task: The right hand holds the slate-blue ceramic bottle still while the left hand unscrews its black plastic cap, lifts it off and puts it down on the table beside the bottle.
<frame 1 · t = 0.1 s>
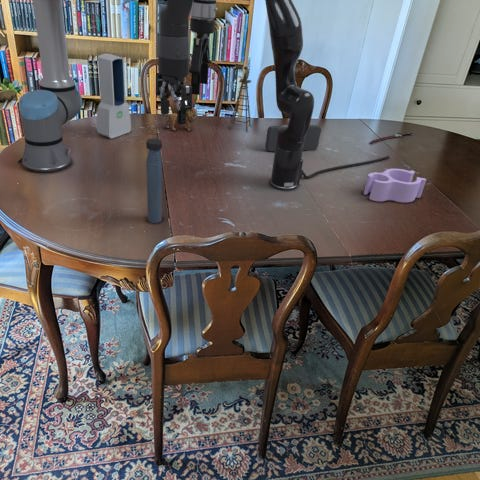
left hand: (199, 88, 153), 28 cm above the table, tool pointing down, fingers open, 13 cm apart
right hand: (172, 118, 123), 29 cm above the table, tool pointing down, fingers open, 8 cm apart
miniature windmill: (239, 127, 209), on the table
sword: (391, 139, 214), on the table
handheld gaming console: (291, 150, 191), on the table
electronic device: (114, 133, 189), on the table
bottle: (154, 219, 136), on the table
lion figurine: (181, 129, 200), on the table
clip: (390, 194, 164), on the table
cap: (154, 142, 123), point 24 cm above the table, screwed on, not yet turned
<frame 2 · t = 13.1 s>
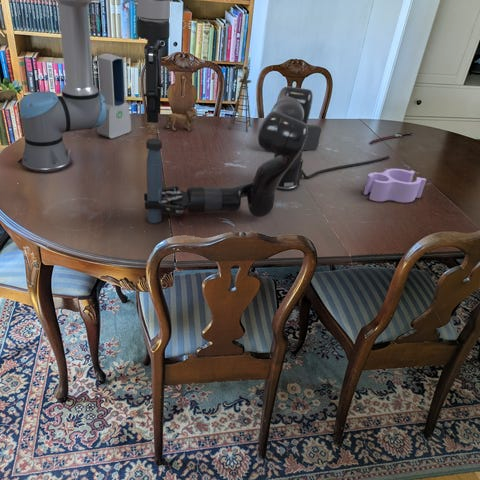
left hand: (153, 117, 119), 30 cm above the table, tool pointing down, fingers open, 6 cm apart
right hand: (144, 201, 132), 6 cm above the table, tool horizontal, fingers closed on bottle, 4 cm apart
bottle: (154, 219, 136), on the table, touching right hand
everything else where it was.
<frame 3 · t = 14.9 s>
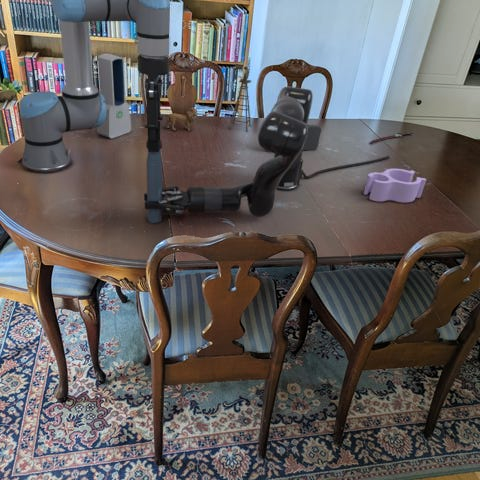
left hand: (154, 147, 124), 22 cm above the table, tool pointing down, fingers closed on cap, 4 cm apart
right hand: (144, 201, 132), 6 cm above the table, tool horizontal, fingers closed on bottle, 4 cm apart
bottle: (154, 219, 136), on the table, touching right hand
cap: (154, 142, 123), point 24 cm above the table, screwed on, not yet turned, touching left hand
everything else where it was.
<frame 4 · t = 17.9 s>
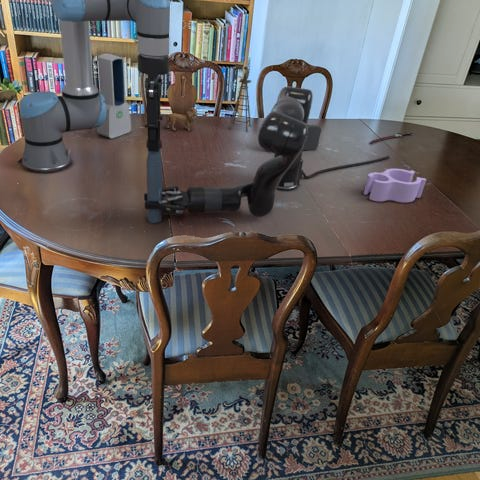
left hand: (154, 147, 124), 22 cm above the table, tool pointing down, fingers closed on cap, 4 cm apart
right hand: (144, 201, 132), 6 cm above the table, tool horizontal, fingers closed on bottle, 4 cm apart
bottle: (154, 219, 136), on the table, touching right hand
cap: (154, 142, 123), point 24 cm above the table, turned 87° so far, risen 0.1 cm, still on its thread, touching left hand
everything else where it was.
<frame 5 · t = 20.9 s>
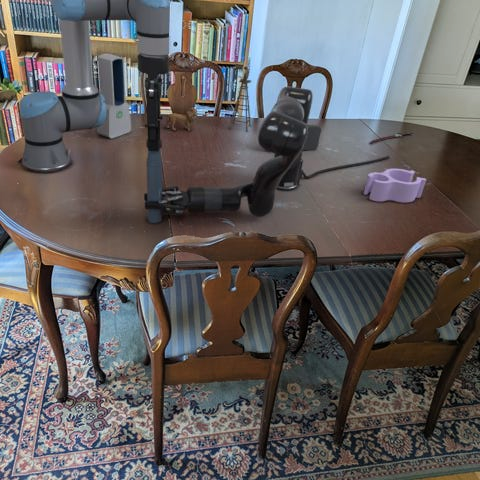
left hand: (154, 147, 124), 22 cm above the table, tool pointing down, fingers closed on cap, 4 cm apart
right hand: (144, 201, 132), 6 cm above the table, tool horizontal, fingers closed on bottle, 4 cm apart
bottle: (154, 219, 136), on the table, touching right hand
cap: (154, 141, 123), point 24 cm above the table, turned 174° so far, risen 0.2 cm, still on its thread, touching left hand
everything else where it was.
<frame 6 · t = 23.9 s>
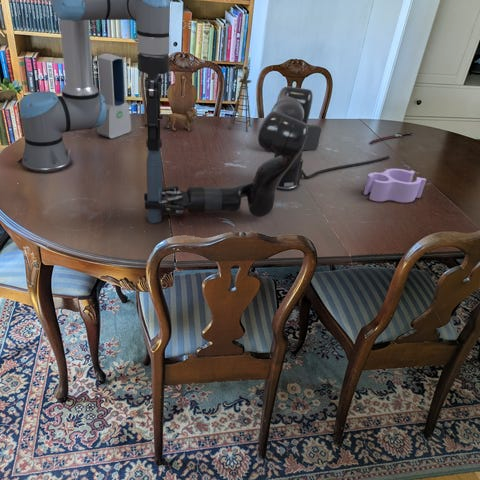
left hand: (154, 146, 124), 22 cm above the table, tool pointing down, fingers closed on cap, 4 cm apart
right hand: (144, 201, 132), 6 cm above the table, tool horizontal, fingers closed on bottle, 4 cm apart
bottle: (154, 219, 136), on the table, touching right hand
cap: (154, 141, 123), point 24 cm above the table, turned 261° so far, risen 0.3 cm, still on its thread, touching left hand
everything else where it was.
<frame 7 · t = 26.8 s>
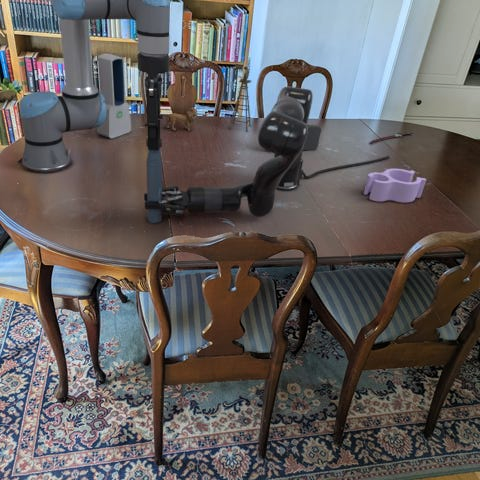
left hand: (154, 146, 123), 23 cm above the table, tool pointing down, fingers closed on cap, 4 cm apart
right hand: (144, 201, 132), 6 cm above the table, tool horizontal, fingers closed on bottle, 4 cm apart
bottle: (154, 219, 136), on the table, touching right hand
cap: (154, 140, 123), point 24 cm above the table, turned 348° so far, risen 0.4 cm, still on its thread, touching left hand
everything else where it was.
when the left hand's fingers open (1 cm above the table, at t = 34.2 s): cap drops 1 cm, point 1 cm above the table.
when the right hand's fingers open (6 cm above the table, at t = 35.5 s): bottle stays where it is, on the table.
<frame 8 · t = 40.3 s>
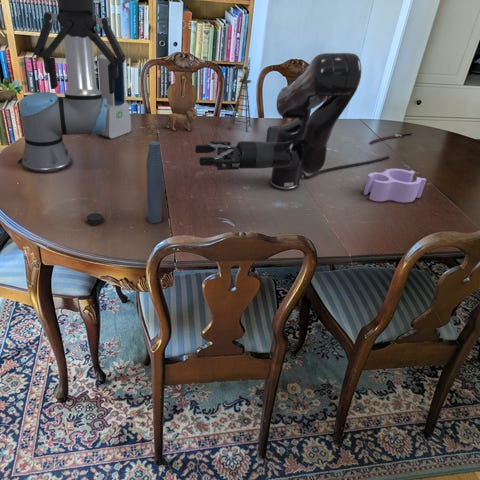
left hand: (83, 90, 112), 37 cm above the table, tool pointing down, fingers open, 13 cm apart
right hand: (197, 154, 127), 20 cm above the table, tool horizontal, fingers open, 8 cm apart
bottle: (154, 219, 136), on the table
cap: (94, 217, 131), point 1 cm above the table, off its thread
everything else where it was.
at the end: cap came off its thread; cap point 1.4 cm above the table; the left hand is holding nothing; the right hand is holding nothing; bottle tilted 0°; bottle moved 0.0 cm from its start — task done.
